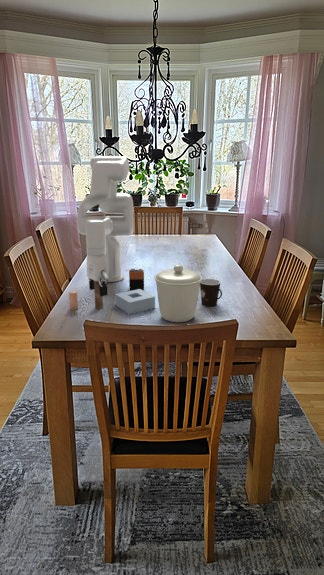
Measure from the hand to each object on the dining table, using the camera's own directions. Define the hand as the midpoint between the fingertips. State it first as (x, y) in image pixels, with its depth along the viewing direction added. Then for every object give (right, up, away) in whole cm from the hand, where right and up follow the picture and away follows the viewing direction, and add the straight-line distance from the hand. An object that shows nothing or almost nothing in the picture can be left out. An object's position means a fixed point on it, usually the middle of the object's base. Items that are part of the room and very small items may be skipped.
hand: (98, 292), depth 161 cm
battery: (+14, +1, +25) cm, 29 cm away
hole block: (+15, -6, +4) cm, 16 cm away
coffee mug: (+46, -6, +6) cm, 47 cm away
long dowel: (0, -6, +2) cm, 7 cm away
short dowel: (-10, -7, +1) cm, 12 cm away
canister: (+32, -10, -7) cm, 34 cm away
